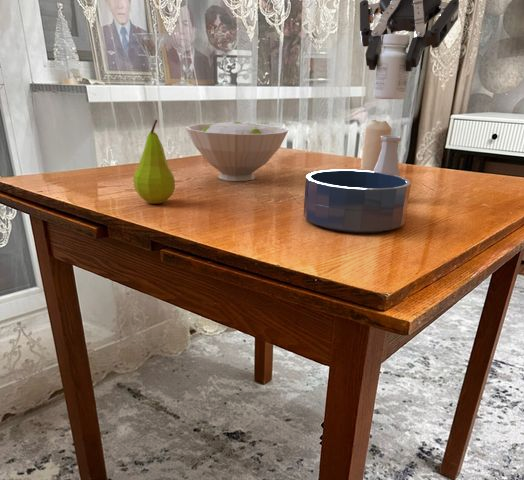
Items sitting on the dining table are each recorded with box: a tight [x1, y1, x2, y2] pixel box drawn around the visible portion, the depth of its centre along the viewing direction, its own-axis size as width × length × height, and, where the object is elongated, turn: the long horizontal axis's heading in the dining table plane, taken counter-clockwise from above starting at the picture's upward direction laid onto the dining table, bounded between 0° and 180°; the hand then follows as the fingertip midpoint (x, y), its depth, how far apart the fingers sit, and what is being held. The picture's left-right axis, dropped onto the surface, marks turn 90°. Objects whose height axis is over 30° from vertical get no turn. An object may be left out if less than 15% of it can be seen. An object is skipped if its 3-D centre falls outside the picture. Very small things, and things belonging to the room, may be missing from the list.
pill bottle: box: [373, 33, 411, 100], centre depth 74 cm, size 4×4×8 cm
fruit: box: [132, 119, 176, 205], centre depth 81 cm, size 6×6×12 cm
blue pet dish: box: [302, 169, 412, 234], centre depth 76 cm, size 14×14×6 cm
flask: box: [373, 134, 402, 177], centre depth 89 cm, size 7×7×10 cm
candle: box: [360, 119, 392, 172], centre depth 115 cm, size 6×6×10 cm
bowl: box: [185, 121, 289, 182], centre depth 103 cm, size 19×19×10 cm
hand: (389, 65), depth 72 cm, fingers closed on pill bottle, 4 cm apart
